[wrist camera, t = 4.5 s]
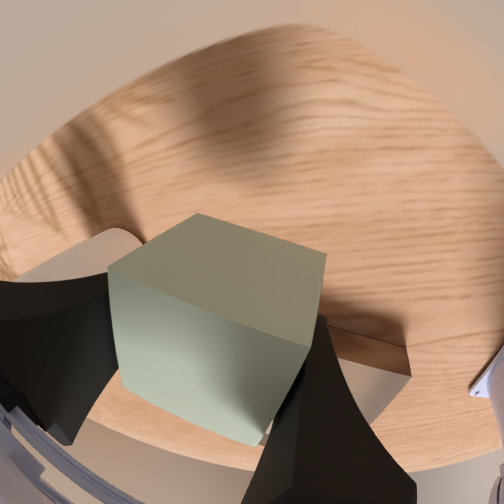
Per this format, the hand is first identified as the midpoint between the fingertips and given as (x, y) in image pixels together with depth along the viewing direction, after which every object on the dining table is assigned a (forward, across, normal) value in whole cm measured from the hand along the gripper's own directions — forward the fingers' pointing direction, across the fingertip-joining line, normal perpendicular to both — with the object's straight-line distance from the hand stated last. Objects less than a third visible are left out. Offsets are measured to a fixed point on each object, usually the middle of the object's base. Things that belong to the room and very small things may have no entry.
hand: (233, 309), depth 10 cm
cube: (+1, 0, 0) cm, 1 cm away
